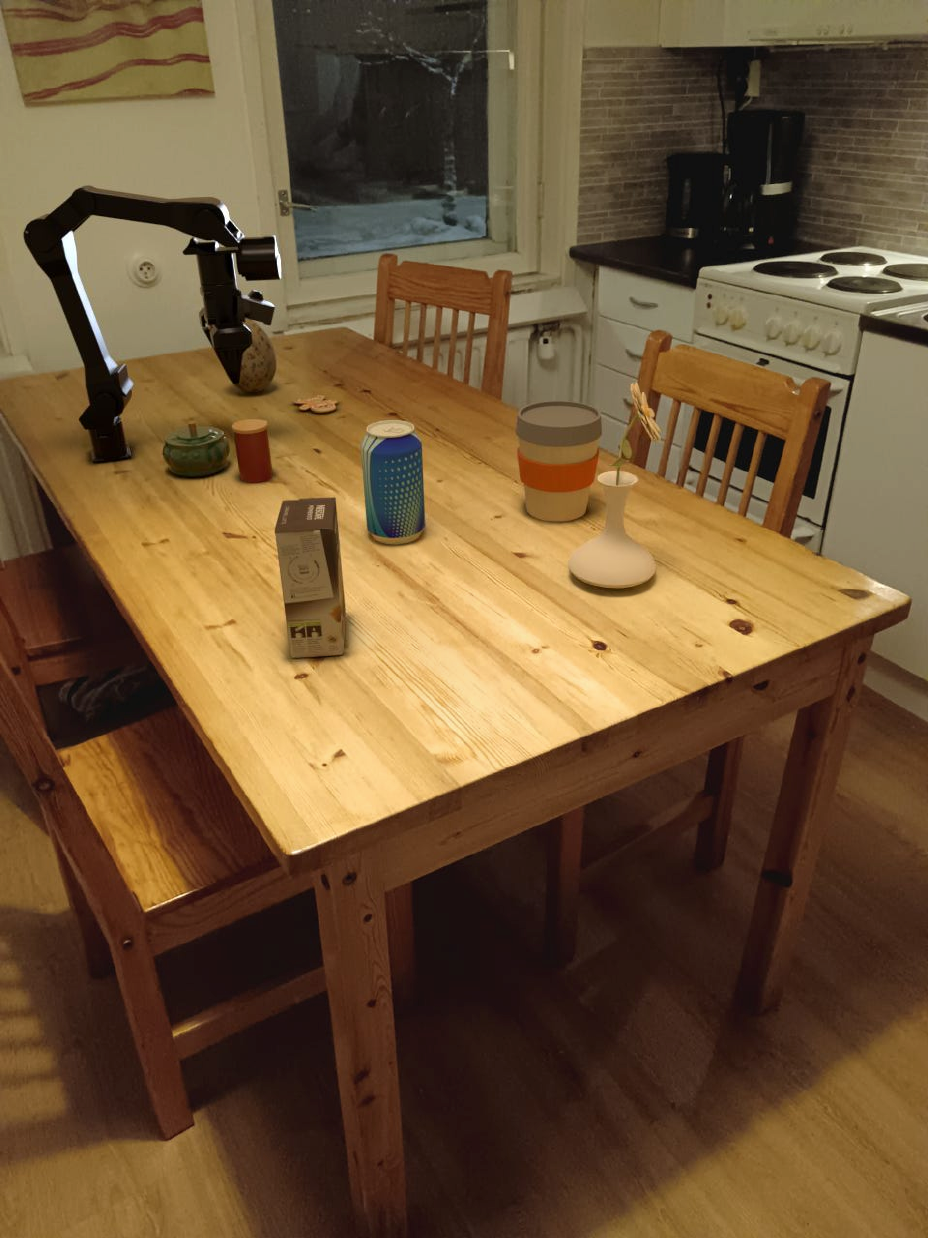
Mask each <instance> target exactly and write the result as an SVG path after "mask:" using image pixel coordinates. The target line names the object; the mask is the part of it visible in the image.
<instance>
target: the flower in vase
mask: <svg viewBox="0 0 928 1238" xmlns="http://www.w3.org/2000/svg"><path fill="white" fill-rule="evenodd" d="M630 394H631V397H632V398H631V399H632V401H633V404H634V407H635V410H636V412H635V415H634V416H633V418H632V420H631V422H630V423H629V424H628V427H627V428H626V430H625V432H624V434H623V436H622V438H621V441H620V446H619V451H618V458H617V460H615V462H613V463H610V464H608V466H609V467H616V470H609V471H605V472H602V473H600V474H598V475H597V478H596V479H597V481H598V483H599V484H600V485H601V487H602V488H603V492H604V496H605V497H604V498H605V503H606V504H605V505H606V516H605V524H604V527H603V530H602V531H601V532H600V533H598V534H597V535H596V536H595V537H593V538H591V539H589V540H587V541H585V542H584V543H582V544H581V545H579V546H578V547H577V548H576V549H575V550H574V551H573V552H572V553H571V555H570V557H569V559H568V562H567V564H568V568H569V570H570V572H571V573H572V575H573V576H574V577H575V578H576V579H578V580H580V581H581V582H582V583H585V584H588V585H591V586H595V587H599V588H605V589H606V588H607V589H625V588H632V587H637V586H639V585H641V584H644V583H646V582H648V581H649V580H650V579H651V578H652V577H653V575H654V574H655V573H656V571H657V564H656V562H655V558H654V557H653V555H652V554H651V553H650V552H649V550H647V548H645V547H644V546H643V545H641V544H640V543H639V542H637V541H636V540H635V539H633V538H632V537H630V536H629V535H628V533H627V531H626V529H625V511H626V505H627V501H628V497H629V496H630V495H629V494H630V492H631V490H632V489H633V488H634V487H635V485H636V484H637V483H638V481H639V478H638V476H637V475H635V474H634V473H631V472H628V471H622V470H621V466H622V465H625V464H627V463H629V462H630V459H631V458H632V456H633V449H632V447H631V444H630V441H629V440H627V439H626V438H627V436H628V434H629V432H630V431H631V429H632V427H633V425H634V423H635V422H636V421H637V420H638V421H640V422H641V424H642V426H643V428H644V430H645V431H646V433H647V435H648V436H649V438H650V440H651V441H652V442H654V443H658V441H659V442H660V441H662V438H661V436H660V434H659V433H661V432H662V431H661V428H660V426H659V425H658V424H657V423H656V421H655V420H654V418H655V415H656V414H655V412H654V410H653V408H651V407H649V403H648V402H647V401H648V400H647V395H646V393H645V392H644V391H642V392H641V390H640V386H639V383H638V382H637V381H636V382H635V383H633V382H632V383H631V384H630ZM622 454H623V456H624V457H625V458H626V459H627V460H626V459H624V458H622Z"/></svg>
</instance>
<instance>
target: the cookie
mask: <svg viewBox="0 0 928 1238" xmlns="http://www.w3.org/2000/svg"><path fill="white" fill-rule="evenodd" d="M325 398H326V397H325V395H315V396H312V397H311V398H298V399H296V400H293V404H294V405H300V406H299V407H298V410H299V411H302V412H304V411H308V410H310V412H312V413H314V414H327V413H331V412H334V411H336V409H337V406H336V405H337V404H338V400H336V399H325Z"/></svg>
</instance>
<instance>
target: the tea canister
mask: <svg viewBox="0 0 928 1238" xmlns="http://www.w3.org/2000/svg"><path fill="white" fill-rule="evenodd" d="M231 430H232V432H233V433H232V434H233V441H234V447H235V453H236V461H237V468H238V474H239V479H240V481H242V482H244V483H247V484H248V483H249V484H258V483H263V482H267V481H269V480H271V479H272V478H273V477H274V473H273V466H272V456H271V449H270V443H269V442H270V440H269V434H268V422H267V421H265V420H264V419H259V418H248V419H241V420H238V421H236V422H234V423H233V424H232V425H231Z"/></svg>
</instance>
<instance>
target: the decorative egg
mask: <svg viewBox="0 0 928 1238" xmlns="http://www.w3.org/2000/svg"><path fill="white" fill-rule="evenodd" d="M245 321H246V322H242V323H243V324H244V325H246V326H247V327H248V328H249V329H250V331H251V332H252V340H253V344H251V347H250V348H248V349H247V350H246V351H245V352H244V353H243V355H242V363H241V372H240V382H239V384H233V385H234V387H236V388H237V389H239V390H240V391H243V392H246V393H258V392H261V391H263V390H265V389H266V388H267V387H269V385H271V383H272V381H273V380H274V378H275V376H276V373H277V372H276V371H277V356H276V352H275V349H274V345H273V343H272V341H271V339H270V337H269V336H268V333H266V331H265V330H264V329H263V328H262V326H261V325H260V324H259V323H258V322H257V321H254V320H251V319H247V318H245ZM224 372H225V374H226V376H227V378H228V380H229V381H230V382H231V380H230V378H229V376H228V374H227V372H226V370H224Z"/></svg>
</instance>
